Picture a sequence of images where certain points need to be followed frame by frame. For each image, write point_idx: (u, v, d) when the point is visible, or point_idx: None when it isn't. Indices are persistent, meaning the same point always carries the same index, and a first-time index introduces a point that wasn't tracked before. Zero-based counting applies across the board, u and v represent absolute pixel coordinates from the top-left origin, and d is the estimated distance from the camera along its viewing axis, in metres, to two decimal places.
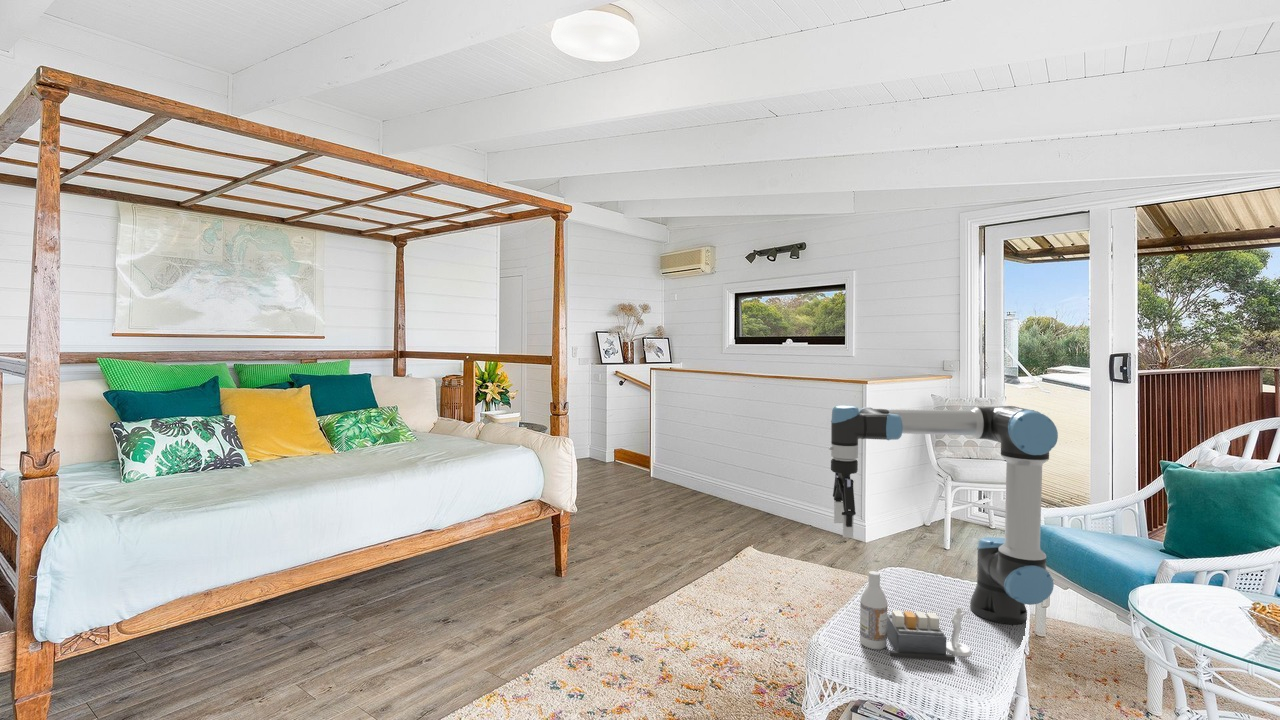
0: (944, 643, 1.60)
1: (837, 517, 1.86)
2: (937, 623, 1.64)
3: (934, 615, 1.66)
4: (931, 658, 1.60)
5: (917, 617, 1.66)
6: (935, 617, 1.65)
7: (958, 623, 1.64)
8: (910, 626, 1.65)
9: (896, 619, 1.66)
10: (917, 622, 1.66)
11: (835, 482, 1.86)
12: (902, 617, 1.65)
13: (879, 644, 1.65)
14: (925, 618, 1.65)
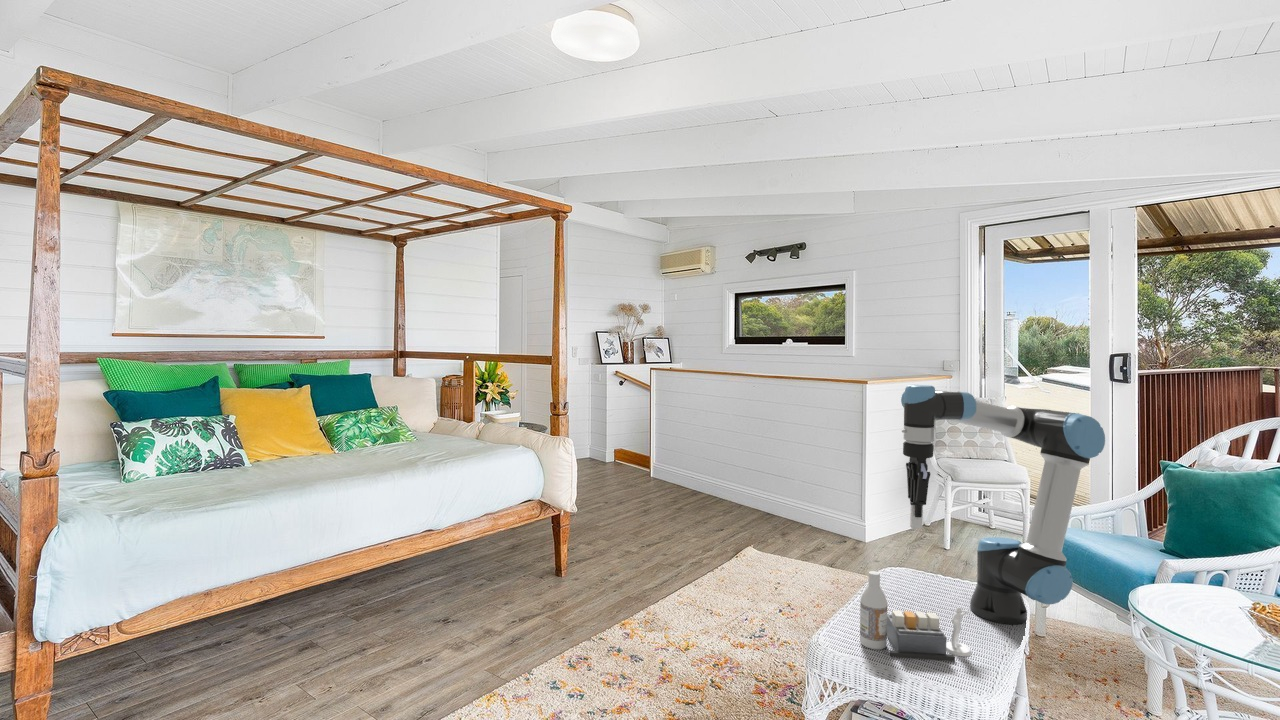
0: (944, 643, 1.60)
1: None
2: (937, 623, 1.64)
3: (934, 615, 1.66)
4: (931, 658, 1.60)
5: (917, 617, 1.66)
6: (935, 617, 1.65)
7: (958, 623, 1.64)
8: (910, 626, 1.65)
9: (896, 619, 1.66)
10: (917, 622, 1.66)
11: (908, 476, 1.69)
12: (902, 617, 1.65)
13: (879, 644, 1.65)
14: (925, 618, 1.65)
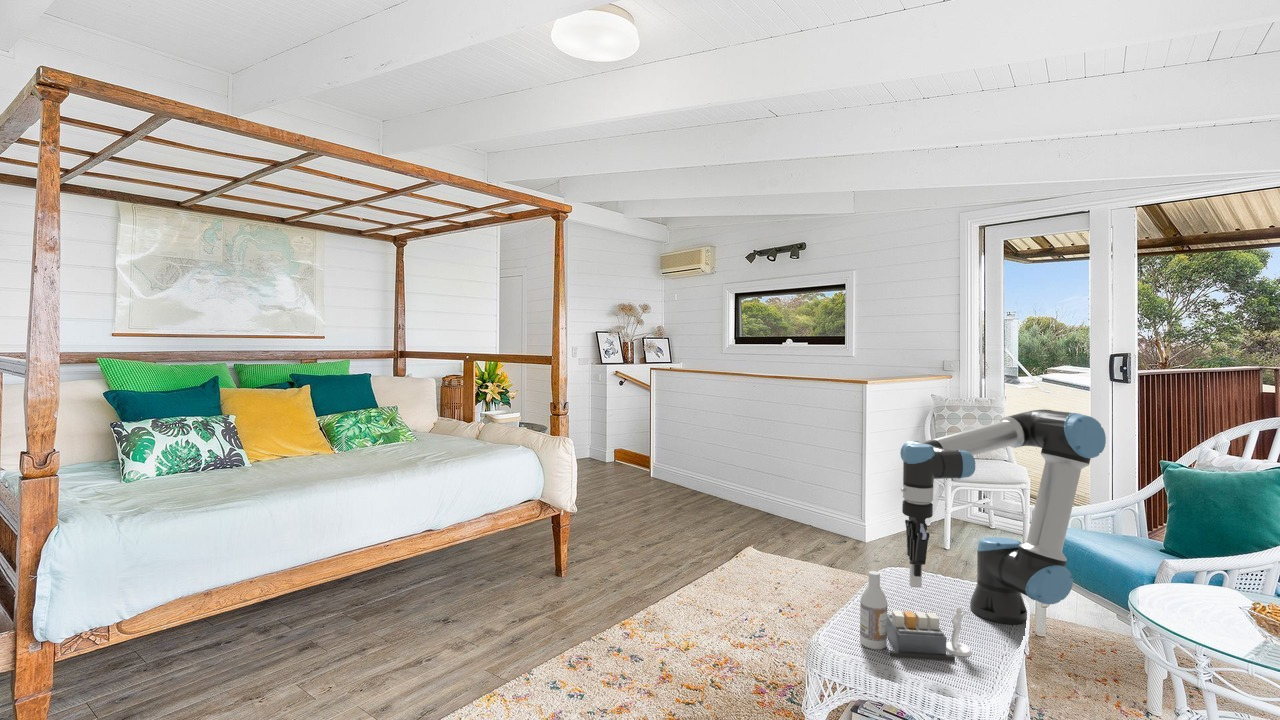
0: (944, 643, 1.60)
1: None
2: (937, 623, 1.64)
3: (934, 615, 1.66)
4: (931, 658, 1.60)
5: (917, 617, 1.66)
6: (935, 617, 1.65)
7: (958, 623, 1.64)
8: (910, 626, 1.65)
9: (896, 619, 1.66)
10: (917, 622, 1.66)
11: (907, 533, 1.70)
12: (902, 617, 1.65)
13: (879, 644, 1.65)
14: (925, 618, 1.65)
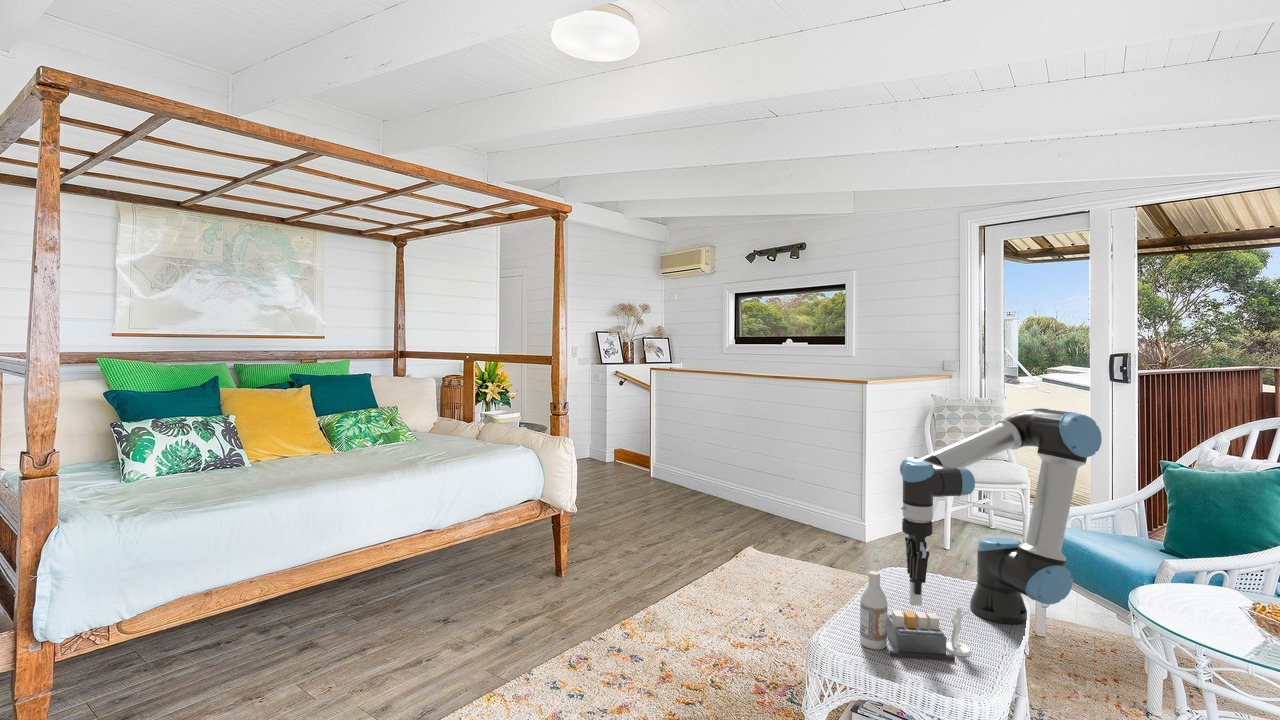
0: (944, 643, 1.60)
1: None
2: (937, 623, 1.64)
3: (934, 615, 1.66)
4: (931, 658, 1.60)
5: (917, 617, 1.66)
6: (935, 617, 1.65)
7: (958, 623, 1.64)
8: (910, 626, 1.65)
9: (896, 619, 1.66)
10: (917, 622, 1.66)
11: (907, 551, 1.70)
12: (902, 617, 1.65)
13: (879, 644, 1.65)
14: (925, 618, 1.65)
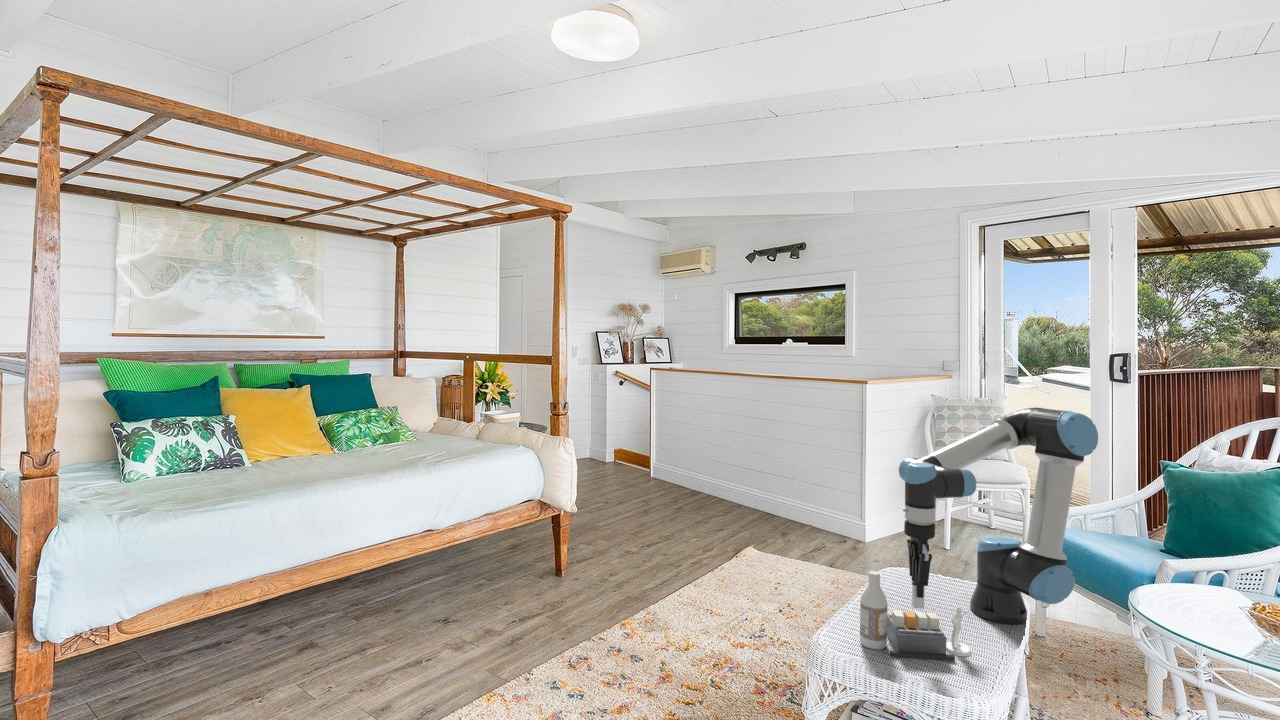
0: (944, 643, 1.60)
1: None
2: (937, 623, 1.64)
3: (934, 615, 1.66)
4: (931, 658, 1.60)
5: (917, 617, 1.66)
6: (935, 617, 1.65)
7: (958, 623, 1.64)
8: (910, 626, 1.65)
9: (896, 619, 1.66)
10: (917, 622, 1.66)
11: (909, 553, 1.68)
12: (902, 617, 1.65)
13: (879, 644, 1.65)
14: (925, 618, 1.65)
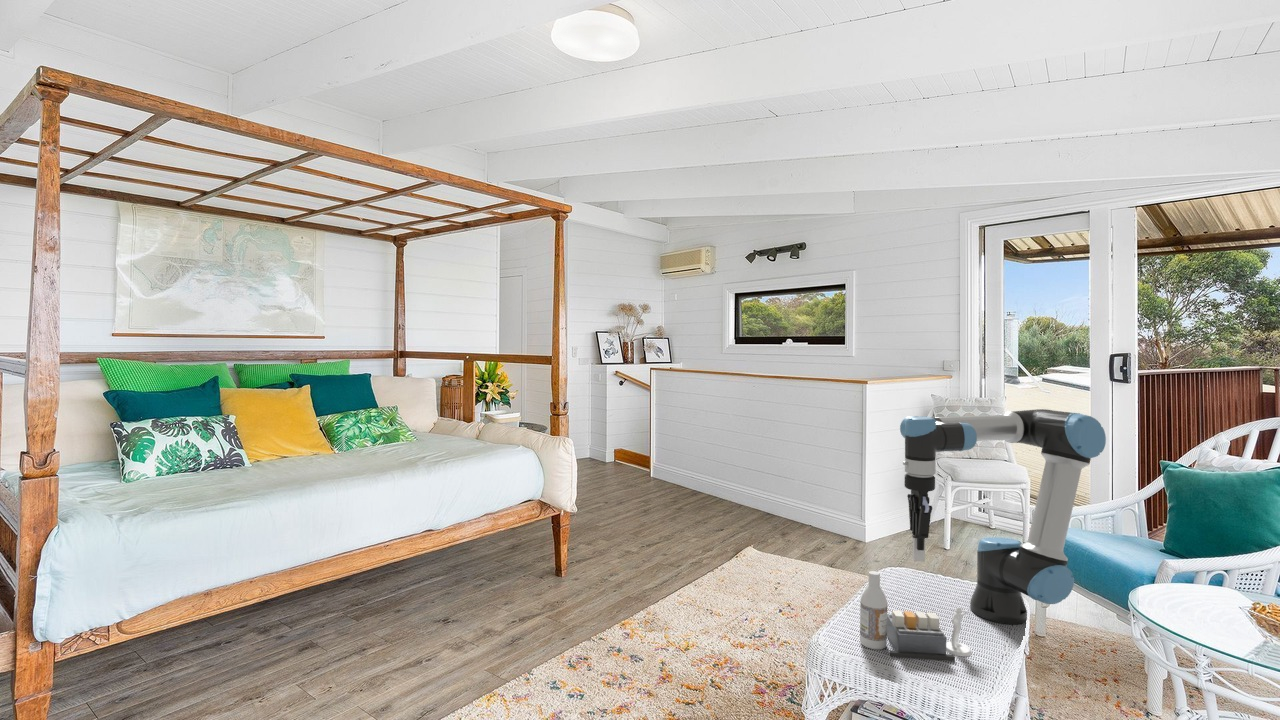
0: (944, 643, 1.60)
1: None
2: (937, 623, 1.64)
3: (934, 615, 1.66)
4: (931, 658, 1.60)
5: (917, 617, 1.66)
6: (935, 617, 1.65)
7: (958, 623, 1.64)
8: (910, 626, 1.65)
9: (896, 619, 1.66)
10: (917, 622, 1.66)
11: (910, 507, 1.68)
12: (902, 617, 1.65)
13: (879, 644, 1.65)
14: (925, 618, 1.65)
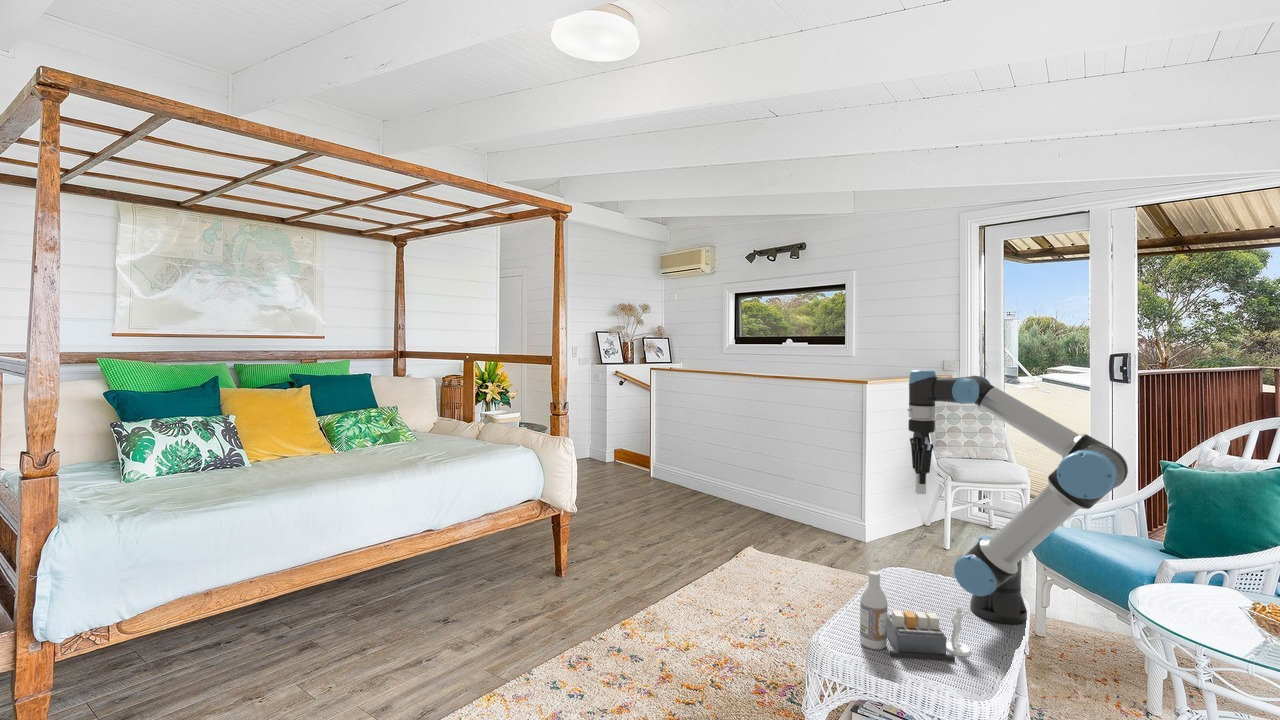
0: (944, 643, 1.60)
1: None
2: (937, 623, 1.64)
3: (934, 615, 1.66)
4: (931, 658, 1.60)
5: (917, 617, 1.66)
6: (935, 617, 1.65)
7: (958, 623, 1.64)
8: (910, 626, 1.65)
9: (896, 619, 1.66)
10: (917, 622, 1.66)
11: (912, 449, 1.95)
12: (902, 617, 1.65)
13: (879, 644, 1.65)
14: (925, 618, 1.65)
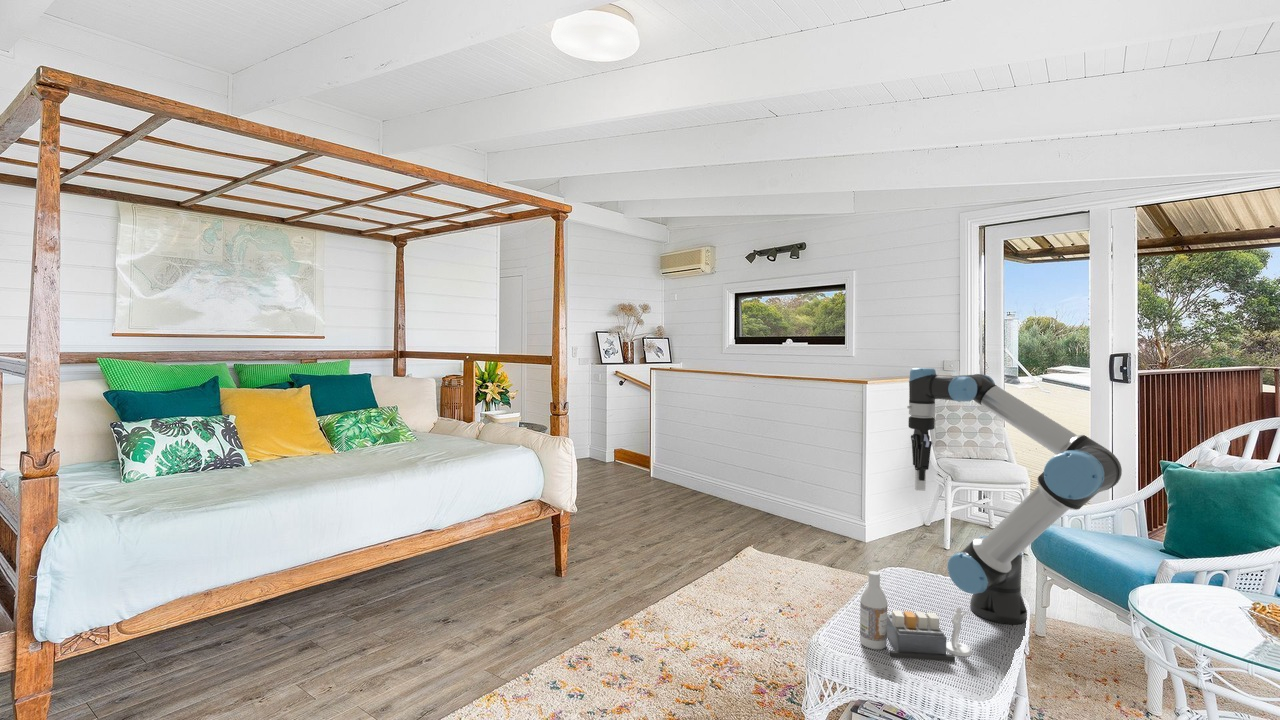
0: (944, 643, 1.60)
1: None
2: (937, 623, 1.64)
3: (934, 615, 1.66)
4: (931, 658, 1.60)
5: (917, 617, 1.66)
6: (935, 617, 1.65)
7: (958, 623, 1.64)
8: (910, 626, 1.65)
9: (896, 619, 1.66)
10: (917, 622, 1.66)
11: (913, 446, 1.98)
12: (902, 617, 1.65)
13: (879, 644, 1.65)
14: (925, 618, 1.65)
